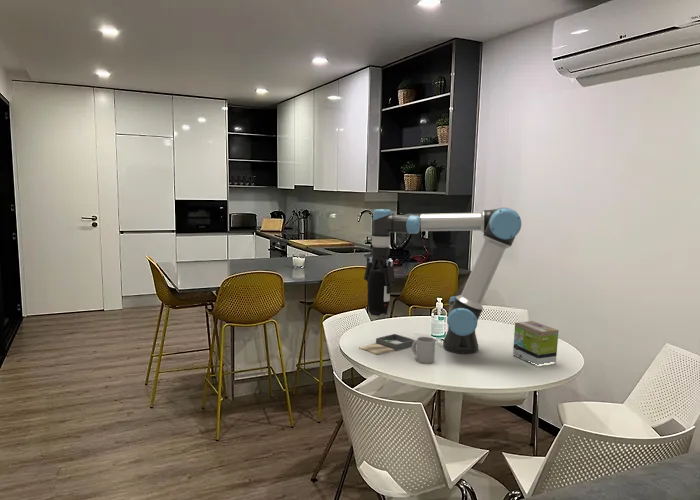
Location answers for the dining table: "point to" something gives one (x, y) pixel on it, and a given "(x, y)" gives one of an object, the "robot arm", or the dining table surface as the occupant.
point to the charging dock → (384, 341)
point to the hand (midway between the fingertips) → (378, 299)
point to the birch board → (376, 348)
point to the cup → (424, 349)
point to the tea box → (535, 342)
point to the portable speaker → (377, 293)
